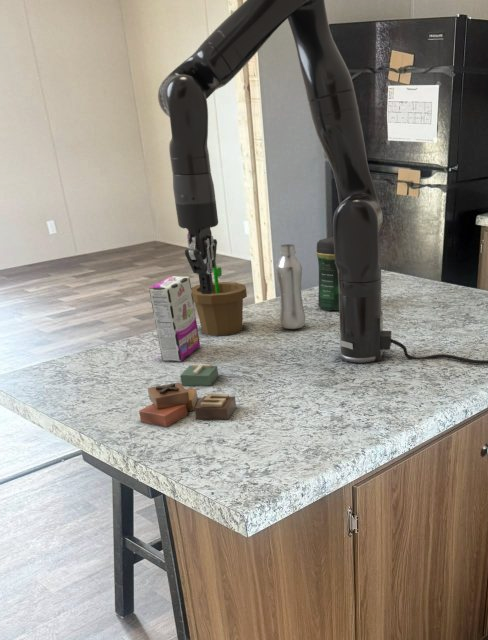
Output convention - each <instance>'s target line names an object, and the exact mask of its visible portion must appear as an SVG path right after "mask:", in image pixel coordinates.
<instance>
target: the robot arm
mask: <svg viewBox="0 0 488 640" xmlns="http://www.w3.org/2000/svg"><path fill="white" fill-rule="evenodd" d="M286 20H287V21H288V25H289V28H290V31H291V34H292V37H293V40H294V44H295V49H296V54H297V58H298V63H299V69H300V73H301V78H302V81H303V85H304V90H305V94H306V100H307V102H308V108H309V112H310V117H311V121H312V125H313V128H314V131H315V134H316V136H317V139H318V141H319V143H320V146H321V148H322V151H323V153H324V155H325V157H326V159H327V161H328V163H329V165H330V168H331V171H332V174H333V176H334V182H335V185H336V190H337V198H338V204H339V205H338V206H337V208H336V209H335V211H334V213H333V220H332V232H333V233H332V235H333V236H332V237H334V253H335V264H336V267H337V271H338V291H339V310H338V313H339V317H338V318H339V346H340V352H339V353H340V359H341V360H343V361H345V362H349V363H353V364H354V363H355V364H356V363H357V364H362V363H363V364H365V363H372V362H381V361H382V358H383V355H384V351H390V350H391V347H392V344H394V345H396V346H398V347H400V348H401V349H402V350H403V355H404V357H406V358H407V359H409V360H434V359H449V360H450V359H451V360H455V361H460V362H464V363H469V364H475V365H477V364H478V365H488V359H487V360H485V359H484V360H483V359H472V358H467V357H463V356H458V355H453V354H446V353H445V354H443V353H439V354H431V355H427V356H420V357H419V356H413V355H411V354H409V353H408V350H407V347H406V346H405V345H404V344H403V343H402V342H400V341H398V340H395V339H392V330H384V329H383V328H384V327H383V324H384V323H383V322H384V320H383V315H384V313H383V310H382V265H381V262H380V256H379V233H380V231H381V229H382V226H383V221H384V216H383V211H382V207H381V203H380V200H379V197H378V195H377V192H376V188H375V185H374V182H373V179H372V176H371V171H370V167H369V164H368V157H367V151H366V143H365V137H364V131H363V126H362V120H361V114H360V108H359V103H358V100H357V94H356V90H355V86H354V82H353V81H354V80H353V79H352V75H351V73H350V71H349V68H348V67H347V65H346V62H345V61H344V58H343V56H342V55H341V53H340V51H339V48H338V46H337V44H336V42H335V40H334V38H333V35H332V31H331V29H330V24H329V19H328V14H327V9H326V3H325V0H245V1H244V2H243V3H242V4H241V5H240V6H239V7H237V8H236V9H235V10H233V12H232V13H231V14H230V15H229V16H227V18H226V19H224V20H223V21H222V22H221V23H220V25H218V26H217V27H216V28H215V29H214V30H213V32H211V34H209V36H207V37H206V39H205V40H204V41H203V42H202V43H201V44H200V45H199V47H198V48H197V49H196V50H195V51H194V53H192V54H191V55H190V56H189V57H187V59H185V60H184V61H182V63H180V64H178V66H177V67H175V69H173V70H172V71H171V72H170V73H169V74H167V76H166V77H165V78H164V79H163V80H162V82H161V83H160V85H159V87H158V92H157V100H158V105H159V107H160V109H161V110H162V112H163V113H164V114H165V115H166V116H167V117H168V118H169V124H170V132H171V139H170V141H169V144H168V145H169V146H168V147H169V149H168V151H169V152H168V153H169V159H170V160H169V161H170V167H171V173H172V191H173V197H174V204H175V212H176V217H177V224H178V226H179V228H181V229H186V230H187V234H188V241H187V246H188V248H189V249H187V248H186V249H185V250H184V256H185V257H186V260H187V262H188V264H189V267H190V268H191V270H192V272H193V274H196V275H198V282H199V285H200V289H201V293H202V294H211V293H212V292H213V291H214V289H213V283H214V280H213V274H214V273H213V268H215V262H216V261H217V260H216V259H217V249H218V241H217V239H215V238H214V236H213V234H212V230H211V228H214V227H217V226H218V225H219V218H218V210H217V209H218V208H217V201H216V200H217V199H216V191H215V184H214V180H213V175H212V169H211V168H212V167H211V161H210V153H209V148H208V138H209V106H208V100H207V99H209V98H210V96H211V95H212V94H213V93H214V92H215V91H217V90H218V89H221V88H223V87H224V86H225V87H226V85H227V84H229V83H230V81H232V80H233V79H234V78H235V77H236V76H237V75H238V74H239V72H240V71H241V70H243V68H244V67H245V66H247V64H248V63H249V62H250V61H251V59H253V58H254V56H255V55H257V53H258V51H259V50H260V49H261V48H262V47H263V46H264V44H265V43H266V42H267V41H268V40H269V39H270V38H271V36H272V35H273V34H274V33H275V32H276V31H277V30H278V29H279V28H280V26H282V24H283V23H285V22H286Z"/></svg>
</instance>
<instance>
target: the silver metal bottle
mask: <svg viewBox="0 0 488 640" xmlns="http://www.w3.org/2000/svg"><path fill="white" fill-rule="evenodd" d="M295 246H296V245H295V244H291V243H289V244H288V243H287V244H280V245H279V255H280V257H279V259H278V261H277V263H276V265H275V273H276V279H277V284H278V289H279V296H280V297H279V298H280V300H279V301H280V302H279V303H280V307H279V308H280V311H279V322H280V325H281V326H282V328H284V329H287V330H296V329H301V328H303V327H304V326H305V324H306V312H305V309H304V304H303V298H302V275H303V268H302V264H301V262H300V261H299V259H298V258H297V257H296V247H295Z"/></svg>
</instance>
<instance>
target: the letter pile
mask: <svg viewBox="0 0 488 640" xmlns="http://www.w3.org/2000/svg"><path fill="white" fill-rule="evenodd" d="M147 393H148V398H149V400H150V402H151V403H152V404H150V405H148V406H146V407H144V408H141V409H139V411H138V414H139V418H140V419H139V420H140V422H141V423H145V424H150V425H154V426H160V427H164V428H168V427H170V426H171V425H173V424H175V423H176V422H178V421H181V420H182V419H184V418H185V417H187V416H188V412H193V411H195V407H196V406H197V402H198V391H197V388H185V387H184V385H182V383H181V382H179V381H178V382H173V383H172V382H171V383H168V384H162V385H157V386H153V387H148V388H147Z"/></svg>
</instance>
